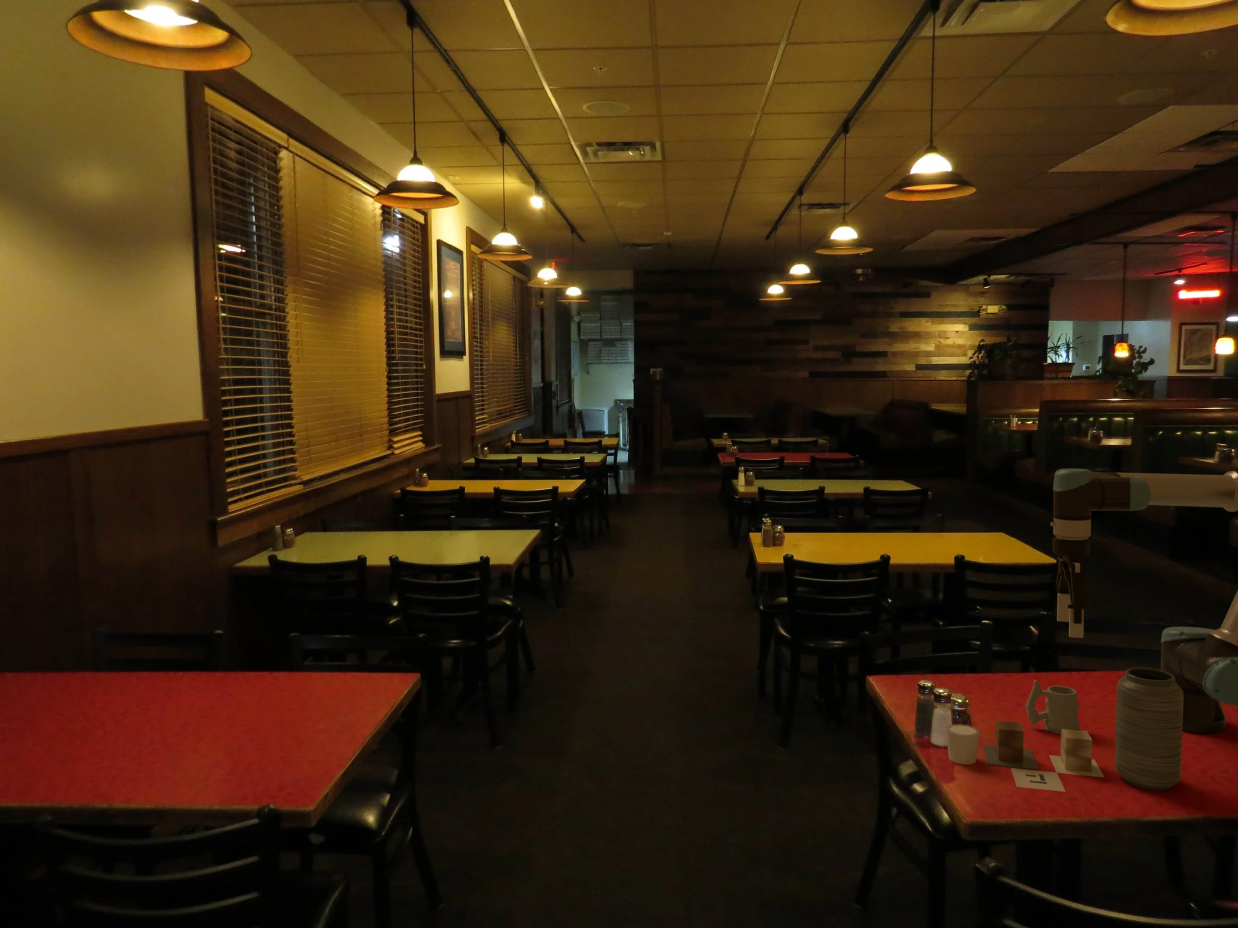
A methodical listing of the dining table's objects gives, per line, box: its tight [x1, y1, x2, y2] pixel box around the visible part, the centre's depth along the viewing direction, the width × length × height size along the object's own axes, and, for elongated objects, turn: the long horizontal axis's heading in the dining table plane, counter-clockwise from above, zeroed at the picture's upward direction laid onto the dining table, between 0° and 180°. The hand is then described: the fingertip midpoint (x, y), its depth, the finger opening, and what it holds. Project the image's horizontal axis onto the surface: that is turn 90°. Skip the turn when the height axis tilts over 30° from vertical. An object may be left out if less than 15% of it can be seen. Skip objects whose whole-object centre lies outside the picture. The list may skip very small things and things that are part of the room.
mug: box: [1025, 679, 1081, 735], centre depth 204 cm, size 8×12×12 cm, turn 80°
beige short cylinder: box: [945, 723, 980, 765], centre depth 189 cm, size 7×7×7 cm
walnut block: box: [995, 720, 1025, 762], centre depth 189 cm, size 5×5×7 cm
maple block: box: [1060, 729, 1093, 772], centre depth 184 cm, size 5×5×7 cm
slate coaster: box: [982, 744, 1039, 771], centre depth 189 cm, size 10×10×1 cm
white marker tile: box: [1010, 767, 1066, 793], centre depth 178 cm, size 9×9×1 cm
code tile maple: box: [1048, 755, 1105, 778], centre depth 184 cm, size 9×9×1 cm
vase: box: [1114, 667, 1184, 792], centre depth 176 cm, size 12×12×23 cm
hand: (1069, 628), depth 195 cm, fingers open, 13 cm apart
